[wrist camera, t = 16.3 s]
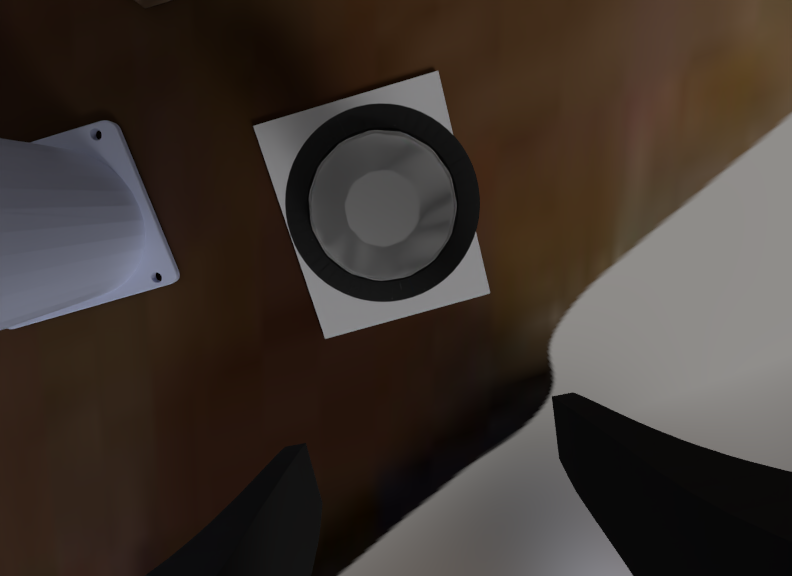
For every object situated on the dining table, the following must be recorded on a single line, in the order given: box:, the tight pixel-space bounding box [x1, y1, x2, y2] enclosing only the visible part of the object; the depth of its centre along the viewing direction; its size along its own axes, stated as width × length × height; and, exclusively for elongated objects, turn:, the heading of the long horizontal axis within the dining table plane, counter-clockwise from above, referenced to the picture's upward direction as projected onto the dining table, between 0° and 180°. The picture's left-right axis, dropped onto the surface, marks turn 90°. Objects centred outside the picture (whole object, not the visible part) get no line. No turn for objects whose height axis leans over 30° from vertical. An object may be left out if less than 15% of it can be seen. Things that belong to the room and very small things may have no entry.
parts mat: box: [253, 71, 490, 339], centre depth 20 cm, size 9×11×1 cm
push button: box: [285, 103, 480, 302], centre depth 15 cm, size 7×5×10 cm
